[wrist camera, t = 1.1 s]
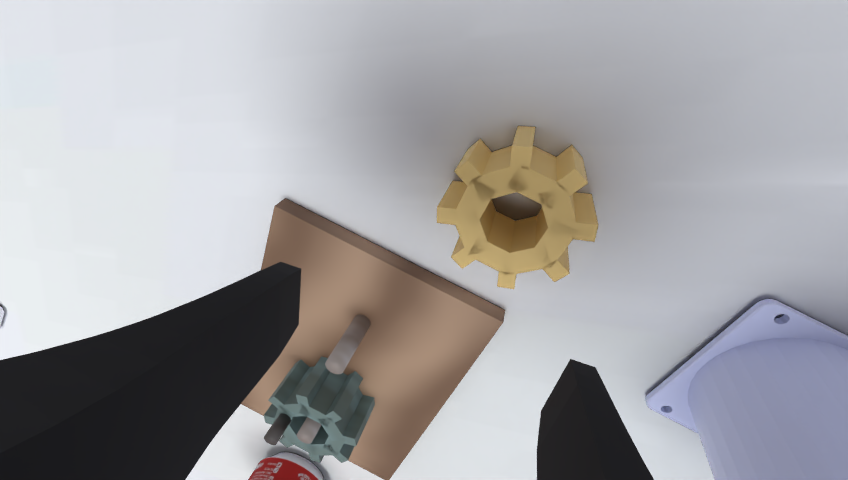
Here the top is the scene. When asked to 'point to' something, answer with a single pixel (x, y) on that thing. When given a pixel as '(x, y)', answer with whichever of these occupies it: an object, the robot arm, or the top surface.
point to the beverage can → (286, 468)
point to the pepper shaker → (1, 315)
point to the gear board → (364, 345)
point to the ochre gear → (527, 238)
